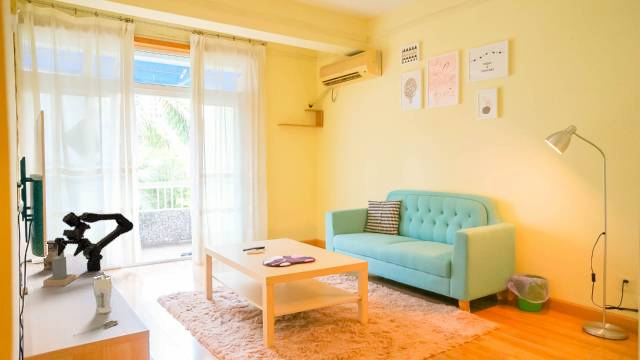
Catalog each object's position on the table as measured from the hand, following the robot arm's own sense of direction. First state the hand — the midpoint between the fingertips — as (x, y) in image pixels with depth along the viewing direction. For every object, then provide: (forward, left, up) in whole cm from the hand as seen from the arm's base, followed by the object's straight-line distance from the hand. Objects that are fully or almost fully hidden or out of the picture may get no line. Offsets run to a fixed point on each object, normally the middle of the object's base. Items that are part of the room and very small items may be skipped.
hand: (66, 255), depth 233 cm
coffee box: (+10, -29, -13) cm, 34 cm away
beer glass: (-20, +60, -13) cm, 64 cm away
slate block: (+3, +5, -12) cm, 14 cm away
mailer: (+2, +2, -13) cm, 13 cm away
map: (-17, +81, -14) cm, 84 cm away
